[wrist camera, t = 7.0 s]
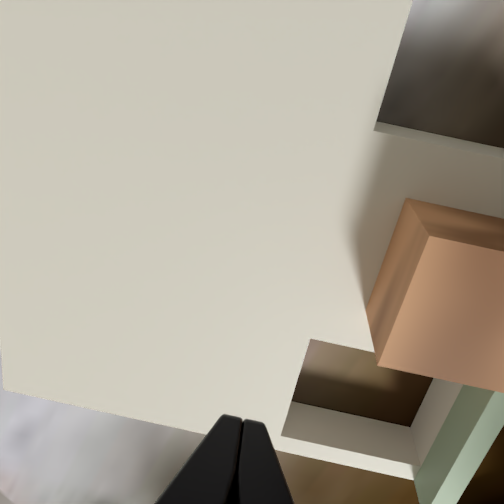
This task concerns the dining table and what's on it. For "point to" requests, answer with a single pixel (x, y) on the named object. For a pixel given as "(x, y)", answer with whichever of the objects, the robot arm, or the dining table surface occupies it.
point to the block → (442, 296)
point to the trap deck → (220, 218)
